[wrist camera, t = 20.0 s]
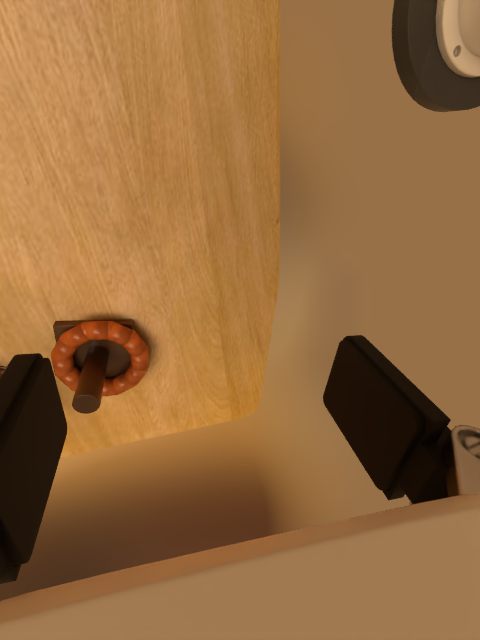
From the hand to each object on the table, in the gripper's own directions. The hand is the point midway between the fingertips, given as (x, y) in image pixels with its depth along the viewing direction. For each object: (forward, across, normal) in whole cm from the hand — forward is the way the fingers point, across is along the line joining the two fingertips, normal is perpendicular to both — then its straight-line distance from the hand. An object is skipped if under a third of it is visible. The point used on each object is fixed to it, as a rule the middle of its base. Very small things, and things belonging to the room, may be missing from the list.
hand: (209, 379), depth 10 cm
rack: (+25, +9, +16) cm, 30 cm away
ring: (+23, +8, +16) cm, 29 cm away
